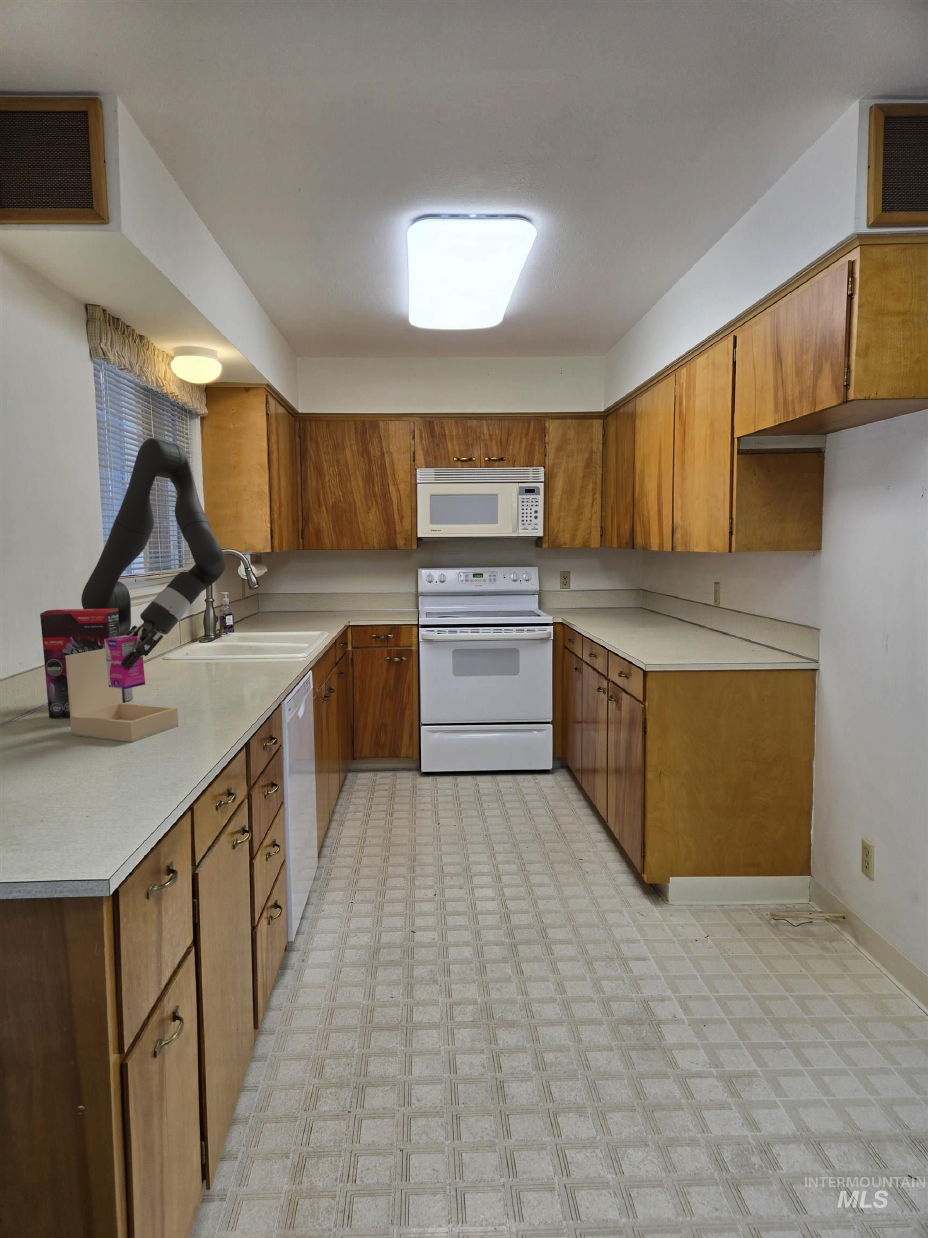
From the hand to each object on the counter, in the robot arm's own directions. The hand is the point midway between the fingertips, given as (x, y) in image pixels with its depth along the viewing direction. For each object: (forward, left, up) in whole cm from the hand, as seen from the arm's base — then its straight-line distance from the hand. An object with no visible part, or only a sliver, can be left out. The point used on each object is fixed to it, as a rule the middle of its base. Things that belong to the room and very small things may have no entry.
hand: (118, 665), depth 161 cm
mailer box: (0, +1, -16) cm, 16 cm away
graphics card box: (-21, +9, -16) cm, 28 cm away
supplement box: (+1, +1, -5) cm, 5 cm away
